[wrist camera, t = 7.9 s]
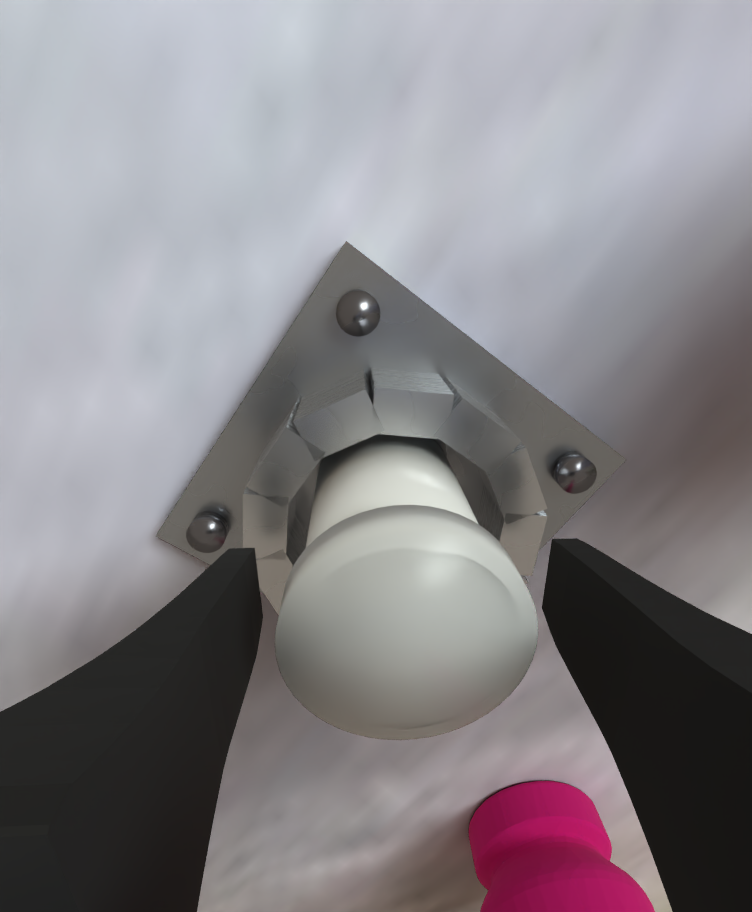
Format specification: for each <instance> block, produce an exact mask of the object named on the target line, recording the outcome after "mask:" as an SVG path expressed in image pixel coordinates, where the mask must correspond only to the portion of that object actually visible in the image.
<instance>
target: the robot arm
mask: <svg viewBox="0 0 752 912" xmlns="http://www.w3.org/2000/svg"><path fill="white" fill-rule="evenodd" d="M542 609H543V612H544V615H545V618H546V621H547V623H548V626H549V629H550V632H551V634H552V637H553V639H554V642H555V645H556V647H557V649H558V651H559V653H560V655H561V657H562V658H563V660H564V662H565V664H566V666H567V668H568V670H569V672H570V674H571V676H572V678H573V679H574V681H575V683H576V685H577V687H578V689H579V691H580V693H581V694H582V696H583V698H584V700H585V702H586V704H587V706H588V707H589V709H590V711H591V713H592V715H593V717H594V719H595V721H596V722H597V724H598V726H599V728H600V730H601V732H602V734H603V736H604V738H605V740H606V742H607V744H608V746H609V748H610V751H611V753H612V755H613V757H614V760H615V762H616V765H617V767H618V769H619V772H620V774H621V777H622V779H623V781H624V784H625V786H626V789H627V791H628V794H629V796H630V798H631V801H632V804H633V806H634V809H635V811H636V814H637V816H638V819H639V822H640V824H641V827H642V829H643V832H644V834H645V837H646V840H647V842H648V845H649V847H650V850H651V853H652V855H653V858H654V861H655V864H656V866H657V869H658V872H659V875H660V878H661V880H662V883H663V886H664V889H665V891H666V894H667V897H668V900H669V903H670V905H671V908H672V911H673V912H752V634H750V633H748V632H746V631H744V630H742V629H740V628H737V627H735V626H733V625H731V624H729V623H727V622H725V621H722V620H720V619H718V618H716V617H714V616H712V615H710V614H708V613H706V612H704V611H702V610H700V609H698V608H696V607H695V606H693V605H691V604H689V603H687V602H685V601H684V600H682V599H680V598H678V597H676V596H674V595H672V594H671V593H669V592H667V591H665V590H664V589H662V588H660V587H658V586H657V585H655V584H653V583H652V582H650V581H648V580H646V579H645V578H643V577H641V576H640V575H638V574H636V573H635V572H633V571H632V570H630V569H628V568H627V567H625V566H623V565H622V564H620V563H618V562H617V561H615V560H614V559H612V558H610V557H609V556H607V555H605V554H604V553H602V552H600V551H599V550H597V549H595V548H594V547H592V546H590V545H588V544H587V543H585V542H583V541H581V540H579V539H552V543H551V550H550V556H549V563H548V570H547V577H546V583H545V590H544V597H543V604H542ZM262 619H263V614H262V605H261V597H260V588H259V580H258V571H257V563H256V554H255V548H229V549H228V550H227V551H226V552H224V553H223V554H222V555H221V556H220V557H219V558H218V559H217V560H216V561H215V562H214V563H213V564H212V565H211V566H210V567H208V568H207V569H206V570H205V571H204V572H203V573H202V574H201V575H200V576H199V577H198V578H197V579H196V580H195V581H193V582H192V583H191V584H190V585H189V586H188V587H187V588H186V589H185V590H184V591H182V592H181V593H180V594H179V595H178V596H177V597H176V598H175V599H173V600H172V601H171V602H170V603H169V604H167V605H166V606H165V607H164V608H162V609H161V610H160V611H159V612H158V613H156V614H155V615H154V616H153V617H152V618H150V619H149V620H148V621H147V622H145V623H144V624H143V625H142V626H140V627H139V628H138V629H136V630H135V631H134V632H132V633H131V634H130V635H128V636H127V637H126V638H124V639H123V640H121V641H120V642H118V643H117V644H116V645H114V646H113V647H111V648H110V649H108V650H107V651H105V652H104V653H103V654H101V655H99V656H98V657H96V658H95V659H93V660H92V661H90V662H88V663H87V664H85V665H83V666H82V667H80V668H78V669H77V670H75V671H74V672H72V673H70V674H69V675H67V676H65V677H64V678H62V679H60V680H59V681H57V682H55V683H54V684H52V685H50V686H49V687H47V688H45V689H43V690H41V691H40V692H38V693H36V694H34V695H32V696H30V697H28V698H27V699H25V700H23V701H21V702H19V703H17V704H15V705H13V706H11V707H9V708H7V709H5V710H3V711H1V712H0V912H197V907H198V901H199V896H200V890H201V884H202V878H203V872H204V867H205V861H206V856H207V851H208V845H209V840H210V835H211V829H212V824H213V818H214V813H215V808H216V803H217V798H218V793H219V788H220V783H221V779H222V774H223V769H224V765H225V761H226V757H227V753H228V749H229V746H230V742H231V739H232V736H233V733H234V729H235V726H236V723H237V719H238V716H239V713H240V709H241V706H242V703H243V699H244V696H245V693H246V690H247V686H248V683H249V679H250V676H251V673H252V669H253V666H254V662H255V659H256V655H257V649H258V644H259V638H260V632H261V626H262Z"/></svg>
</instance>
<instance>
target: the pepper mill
mask: <svg viewBox="0 0 752 912" xmlns="http://www.w3.org/2000/svg"><path fill="white" fill-rule="evenodd" d="M469 840H470V845H471V850H472V855H473V860H474V865H475V871H476V874H477V877H478V879H479V881H480V883H481V884H482V885H483V886H484V887H485V888H486V889H487V890H488V892H487V895H486V897H485V899H484V902H483V904H482V907H481V910H480V912H655V911H654V908H653V905H652V904H651V902H650V900H649V898H648V897H647V895H646V893H645V892H644V891H643V889H642V888H641V887H640V886H639V885H638V883H637V882H636V881H635V880H634V879H633V878H632V877H631V876H630V875H628V874H627V873H626V872H625V871H623V870H622V869H620V868H619V867H617V866H616V865H614V864H613V863H611V862H610V858H611V853H612V847H611V842H610V840H609V837H608V835H607V833H606V830H605V828H604V826H603V824H602V821H601V819H600V817H599V814H598V812H597V810H596V808H595V805H594V804H593V802H592V800H591V799H590V798H589V797H588V796H587V795H586V794H584V793H583V792H582V791H581V790H579V789H577V788H575V787H573V786H571V785H569V784H564V783H560V782H555V781H534V782H528V783H521V784H518V785H515V786H512V787H509V788H506V789H503V790H501V791H499V792H498V793H496V794H494V795H493V796H491V797H489V798H488V799H487V800H485V801H484V802H483V803H482V805H481V806H480V807H479V808H478V809H477V810H476V811H475V813H474V815H473V817H472V819H471V821H470V825H469Z"/></svg>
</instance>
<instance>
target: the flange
mask: <svg viewBox="0 0 752 912" xmlns="http://www.w3.org/2000/svg"><path fill="white" fill-rule="evenodd" d="M377 434H384V435H396V436H408V437H420V438H431V439H433V440H434V441H435V442H436V443H437V444H438V445H439V447H440V448H441V449H442V450H443V452H444V454H445V455H446V457H447V459H448V461H449V463H450V465H451V467H452V470H453V472H454V474H455V476H456V478H457V480H458V482H459V484H460V486H461V488H462V491H463V493H464V495H465V497H466V499H467V501H468V503H469V505H470V507H471V509H472V511H473V514H474V516H475V518H476V520H477V522H478V524H479V525H480V526H482V527H483V528H485V529H486V530H487V531H488V532H490V533H491V534H492V535H493V536H494V537H495V538H496V539H497V540H498V541H499V542H500V543H501V544H502V546H503V547H504V548H505V549H506V551H507V552H508V554H509V556H510V557H511V559H512V561H513V562H514V564H515V566H516V568H517V570H518V572H519V574H520V576H521V578H522V579H523V581H524V583H525V585H526V584H527V583H528V581H527V579H526V578H525V576H524V575H527V576H532V573H533V570H534V566H535V562H536V558H537V555H538V551H539V550H540V549H541V548H542V547H543V546H544V545H545V544H546V543H547V542H548V541H549V540H550V539H551V538H552V537H553V535H554V534H555V533H556V532H557V531H558V530H559V529H560V528H561V527H562V526H563V525H564V524H565V523H566V522H567V521H568V520H569V519H570V518H571V517H572V516H573V515H574V514H575V513H576V512H577V511H578V509H579V508H580V507H581V506H582V505H583V504H584V503H585V502H586V501H587V500H588V499H589V498H590V497H591V496H592V495H593V494H594V493H595V492H596V491H597V490H598V489H599V488H600V487H601V486H602V485H603V483H604V482H605V481H606V480H607V479H608V478H609V477H610V476H611V475H612V474H613V473H614V472H615V471H616V470H617V469H618V468H619V467H620V466H621V465H622V464H623V463H624V462H625V461H626V459H625V458H623V457H622V456H621V455H620V454H618V453H617V452H616V451H614V450H613V449H612V448H611V447H609V446H608V445H607V444H605V443H604V442H603V441H602V440H600V439H599V438H598V437H597V436H595V435H594V434H593V433H591V432H590V431H589V430H588V429H586V428H585V427H584V426H582V425H581V424H580V423H579V422H577V421H576V420H575V419H573V418H572V417H571V416H570V415H568V414H567V413H566V412H564V411H563V410H562V409H561V408H559V407H558V406H557V405H556V404H554V403H553V402H552V401H550V400H549V399H548V398H547V397H545V396H544V395H543V394H541V393H540V392H539V391H538V390H536V389H535V388H534V387H532V386H531V385H530V384H529V383H527V382H526V381H525V380H524V379H522V378H521V377H520V376H518V375H517V374H516V373H515V372H513V371H512V370H511V369H509V368H508V367H507V366H506V365H504V364H503V363H502V362H500V361H499V360H498V359H497V358H495V357H494V356H493V355H491V354H490V353H489V352H488V351H486V350H485V349H484V348H483V347H481V346H480V345H479V344H477V343H476V342H475V341H474V340H472V339H471V338H470V337H468V336H467V335H466V334H465V333H463V332H462V331H461V330H459V329H458V328H457V327H456V326H454V325H453V324H452V323H451V322H449V321H448V320H447V319H445V318H444V317H443V316H442V315H440V314H439V313H438V312H436V311H435V310H434V309H433V308H431V307H430V306H429V305H427V304H426V303H425V302H424V301H422V300H421V299H420V298H418V297H417V296H416V295H415V294H413V293H412V292H411V291H410V290H408V289H407V288H406V287H404V286H403V285H402V284H401V283H399V282H398V281H397V280H395V279H394V278H393V277H392V276H390V275H389V274H388V273H386V272H385V271H384V270H383V269H381V268H380V267H379V266H377V265H376V264H375V263H374V262H372V261H371V260H370V259H369V258H367V257H366V256H365V255H363V254H362V253H361V252H360V251H358V250H357V249H356V248H354V247H353V246H352V245H351V244H349V243H348V242H347V241H346V242H345V244H344V245H343V247H342V248H341V250H340V252H339V253H338V255H337V256H336V258H335V259H334V261H333V262H332V264H331V265H330V267H329V269H328V270H327V272H326V273H325V275H324V276H323V278H322V279H321V281H320V283H319V284H318V286H317V287H316V289H315V290H314V292H313V293H312V295H311V296H310V298H309V300H308V301H307V303H306V304H305V306H304V307H303V309H302V310H301V312H300V314H299V315H298V317H297V318H296V320H295V321H294V323H293V324H292V326H291V327H290V329H289V331H288V332H287V334H286V335H285V337H284V338H283V340H282V341H281V343H280V344H279V346H278V348H277V349H276V351H275V352H274V354H273V355H272V357H271V358H270V360H269V362H268V363H267V365H266V366H265V368H264V369H263V371H262V372H261V374H260V375H259V377H258V379H257V380H256V382H255V383H254V385H253V386H252V388H251V389H250V391H249V392H248V394H247V396H246V397H245V399H244V400H243V402H242V403H241V405H240V406H239V408H238V410H237V411H236V413H235V414H234V416H233V417H232V419H231V420H230V422H229V423H228V425H227V427H226V428H225V430H224V431H223V433H222V434H221V436H220V437H219V439H218V440H217V442H216V444H215V445H214V447H213V448H212V450H211V451H210V453H209V454H208V456H207V458H206V459H205V461H204V462H203V464H202V465H201V467H200V468H199V470H198V471H197V473H196V475H195V476H194V478H193V479H192V481H191V482H190V484H189V485H188V487H187V489H186V490H185V492H184V493H183V495H182V496H181V498H180V499H179V501H178V502H177V504H176V506H175V507H174V509H173V510H172V512H171V513H170V515H169V516H168V518H167V519H166V521H165V523H164V524H163V526H162V527H161V529H160V530H159V532H158V533H157V535H156V537H158V538H160V539H162V540H164V541H166V542H168V543H170V544H171V545H173V546H175V547H177V548H179V549H181V550H183V551H185V552H186V553H188V554H190V555H192V556H194V557H196V558H198V559H200V560H202V561H203V562H205V563H207V564H209V565H212V564H213V563H214V562H215V561H216V560H217V559H218V558H219V557H220V556H221V555H222V554H223V553H224V552H226V551H227V550H228V549H229V548H255V554H256V563H257V571H258V580H259V588H260V592H262V593H264V594H265V596H266V597H267V599H268V600H269V602H270V603H271V605H272V606H273V608H274V609H275V611H276V612H277V614H278V616H279V612H280V607H281V602H282V598H283V593H284V588H285V584H286V581H287V579H288V576H289V573H290V571H291V569H292V568H293V566H294V564H295V562H296V561H297V559H298V558H299V556H300V555H301V554H302V552H303V551H304V550H305V549H306V543H307V536H308V530H309V524H310V518H311V512H312V506H313V500H314V494H315V487H316V481H317V476H318V471H319V468H320V465H321V463H322V461H323V459H324V457H326V456H328V455H331V454H333V453H335V452H338V451H340V450H342V449H344V448H347V447H349V446H351V445H354V444H356V443H358V442H360V441H363V440H365V439H367V438H370V437H372V436H374V435H377Z"/></svg>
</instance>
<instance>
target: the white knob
mask: <svg viewBox="0 0 752 912" xmlns="http://www.w3.org/2000/svg"><path fill="white" fill-rule="evenodd" d="M537 638H538V619H537V614H536V609H535V605H534V603H533V600H532V598H531V595H530V593H529V591H528V589H527V587H526V585H525V583H524V581H523V579H522V578H521V576H520V574H519V572H518V570H517V568H516V566H515V564H514V562H513V561H512V559H511V557H510V556H509V554H508V552H507V551H506V549H505V548H504V547H503V546H502V544H501V543H500V542H499V541H498V540H497V539H496V538H495V537H494V536H493V535H492V534H491V533H490V532H488V531H487V530H486V529H485V528H483V527H482V526H480V525H479V524H478V522H477V520H476V518H475V516H474V514H473V511H472V509H471V507H470V505H469V503H468V501H467V499H466V497H465V495H464V493H463V491H462V488H461V486H460V484H459V482H458V480H457V478H456V476H455V474H454V472H453V470H452V467H451V465H450V463H449V461H448V459H447V457H446V455H445V454H444V452H443V450H442V449H441V448H440V447H439V445H438V444H437V443H436V442H435V441H434V440H433V439H431V438H420V437H408V436H396V435H384V434H377V435H374V436H372V437H370V438H367V439H365V440H363V441H360V442H358V443H356V444H354V445H351V446H349V447H347V448H344V449H342V450H340V451H338V452H335V453H333V454H331V455H328V456H326V457H324V459H323V461H322V463H321V465H320V468H319V471H318V476H317V481H316V487H315V494H314V500H313V506H312V512H311V518H310V524H309V530H308V536H307V543H306V549H305V550H304V551H303V552H302V554H301V555H300V556H299V558H298V559H297V561H296V562H295V564H294V566H293V568H292V569H291V571H290V573H289V576H288V579H287V581H286V584H285V588H284V593H283V598H282V602H281V607H280V612H279V617H278V622H277V626H276V631H275V652H276V660H277V663H278V667H279V670H280V673H281V675H282V677H283V679H284V681H285V683H286V685H287V687H288V688H289V689H290V691H291V692H292V694H293V695H294V696H295V697H296V699H297V700H298V701H299V702H300V703H301V704H302V705H303V706H304V707H305V708H307V709H308V710H309V711H310V712H311V713H313V714H314V715H315V716H317V717H318V718H320V719H322V720H323V721H325V722H326V723H328V724H331V725H333V726H335V727H337V728H339V729H341V730H344V731H347V732H350V733H353V734H357V735H361V736H365V737H370V738H377V739H387V740H408V739H419V738H426V737H432V736H436V735H440V734H444V733H447V732H450V731H453V730H456V729H459V728H461V727H463V726H466V725H468V724H470V723H472V722H474V721H476V720H478V719H479V718H481V717H483V716H484V715H486V714H488V713H489V712H490V711H492V710H493V709H494V708H496V707H497V706H498V705H500V704H501V703H502V702H503V701H504V700H505V699H506V698H507V697H508V696H509V695H510V694H511V693H512V692H513V691H514V689H515V688H516V687H517V686H518V685H519V683H520V682H521V680H522V679H523V677H524V676H525V674H526V672H527V670H528V668H529V666H530V664H531V662H532V660H533V656H534V653H535V649H536V646H537Z"/></svg>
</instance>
